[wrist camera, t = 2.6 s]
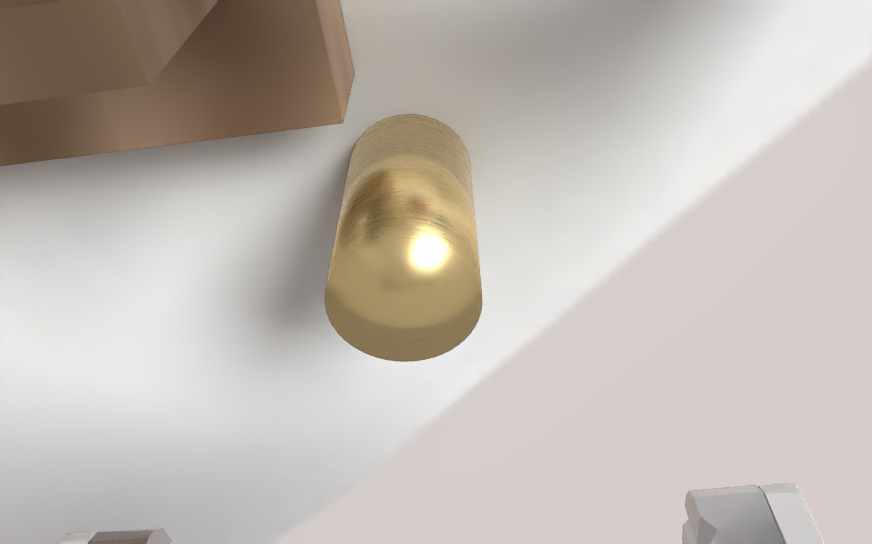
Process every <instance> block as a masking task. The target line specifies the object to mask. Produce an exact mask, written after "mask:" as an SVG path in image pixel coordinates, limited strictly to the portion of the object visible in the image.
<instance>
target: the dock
mask: <svg viewBox="0 0 872 544" xmlns="http://www.w3.org/2000/svg"><path fill="white" fill-rule="evenodd" d="M353 78H354V69H353V64H352V60H351V55H350V50H349V45H348V40H347V35H346V30H345V25H344V20H343V15H342V10H341V6H340V1H339V0H0V166H4V165H12V164H20V163H28V162H36V161H44V160H52V159H60V158H68V157H76V156H84V155H92V154H100V153H108V152H116V151H124V150H132V149H140V148H148V147H156V146H164V145H172V144H180V143H188V142H196V141H204V140H212V139H220V138H228V137H236V136H244V135H252V134H260V133H268V132H276V131H284V130H292V129H300V128H308V127H316V126H324V125H332V124H340V123H343V121H344V117H345V112H346V108H347V104H348V99H349V95H350V91H351V86H352V82H353Z"/></svg>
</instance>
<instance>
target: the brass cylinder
mask: <svg viewBox="0 0 872 544" xmlns="http://www.w3.org/2000/svg"><path fill="white" fill-rule="evenodd" d="M325 307H326V312H327V315H328V318H329V320H330V322H331V324H332V325H333V327H334V328H335V330H336V331H337V332H338V334H339V335H340V336H341V337H342V338H343V339H344V340H345V341H347V342H348V343H349V344H350V345H352V346H353V347H355V348H357V349H358V350H360V351H362V352H364V353H366V354H368V355H371V356H374V357H377V358H381V359H385V360H391V361H403V362H407V361H419V360H425V359H429V358H433V357H436V356H439V355H442V354H444V353H446V352H448V351H450V350H452V349H453V348H455V347H456V346H458V345H459V344H460V343H461V342H463V341H464V340H465V339H466V338H467V337H468V336H469V335H470V333H471V332H472V331H473V329H474V328H475V326H476V324H477V322H478V320H479V317H480V314H481V310H482V289H481V278H480V267H479V256H478V245H477V234H476V223H475V211H474V200H473V189H472V178H471V167H470V160H469V156H468V153H467V150H466V148H465V146H464V144H463V142H462V141H461V140H460V138H459V137H458V136H457V135H456V134H455V133H454V132H453V131H452V130H451V129H450V128H449V127H447V126H446V125H444V124H443V123H441V122H439V121H437V120H434V119H432V118H429V117H425V116H420V115H410V114H408V115H398V116H393V117H389V118H386V119H384V120H382V121H379V122H377V123H376V124H374V125H373V126H371V127H370V128H369V129H368V130H366V131H365V132H364V133H363V135H362V136H361V137H360V138H359V140H358V141H357V143H356V144H355V147H354V149H353V151H352V155H351V159H350V164H349V169H348V174H347V179H346V185H345V190H344V195H343V200H342V205H341V211H340V216H339V221H338V226H337V231H336V237H335V242H334V247H333V252H332V257H331V263H330V268H329V273H328V278H327V283H326V289H325Z"/></svg>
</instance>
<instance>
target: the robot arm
mask: <svg viewBox="0 0 872 544" xmlns="http://www.w3.org/2000/svg"><path fill="white" fill-rule="evenodd" d="M685 507H686V511H687V514H688V517H689V519H688V520H687V521H686V522H685V523H684V524H683V534H682V541H683V544H825V541H824V539H823V537H822V535H821V533H820V531H819V529H818V527H817V525H816V523H815V520H814V518H813V516H812V514H811V512H810V510H809V508H808V506H807V504H806V501H805V500H804V497H803V495H802V493H801V491H800V489H799V488H797V487H796V485H795V484H792V483H785V484H775V485H763V486H756V485H749V486H737V487H725V488H714V489H702V490H691V491H688V493H687V494H686V501H685ZM170 543H171V540H170V538H169V537H168V535H167V534H166V532H165V531H164V529H148V530H129V531H110V532H89V533H74V534H67V535H66V536H65V537H64V538H63V539H62V540H61V541H60V542H59V543H58V544H170Z"/></svg>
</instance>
